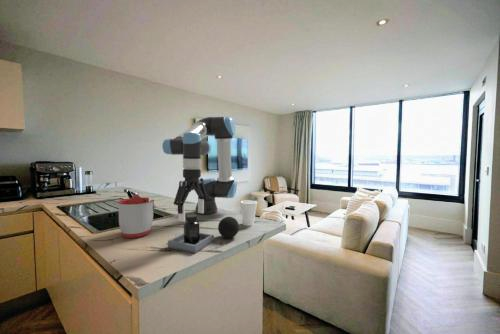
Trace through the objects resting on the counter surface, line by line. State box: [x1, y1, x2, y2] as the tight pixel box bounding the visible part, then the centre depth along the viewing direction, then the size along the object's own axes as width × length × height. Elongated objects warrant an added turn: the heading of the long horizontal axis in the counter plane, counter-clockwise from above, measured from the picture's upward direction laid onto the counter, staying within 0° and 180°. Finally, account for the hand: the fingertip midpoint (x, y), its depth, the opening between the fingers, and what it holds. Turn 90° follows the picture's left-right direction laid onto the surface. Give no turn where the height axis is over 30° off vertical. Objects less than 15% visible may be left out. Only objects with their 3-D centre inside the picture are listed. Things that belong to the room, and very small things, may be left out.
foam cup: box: [240, 199, 258, 227], centre depth 126 cm, size 10×9×13 cm
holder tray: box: [167, 232, 215, 255], centre depth 97 cm, size 14×14×3 cm
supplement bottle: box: [183, 214, 201, 245], centre depth 96 cm, size 7×7×12 cm
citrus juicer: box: [117, 193, 158, 239], centre depth 108 cm, size 16×17×20 cm
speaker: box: [217, 216, 240, 239], centre depth 105 cm, size 10×10×10 cm
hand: (191, 216), depth 96 cm, fingers open, 13 cm apart
